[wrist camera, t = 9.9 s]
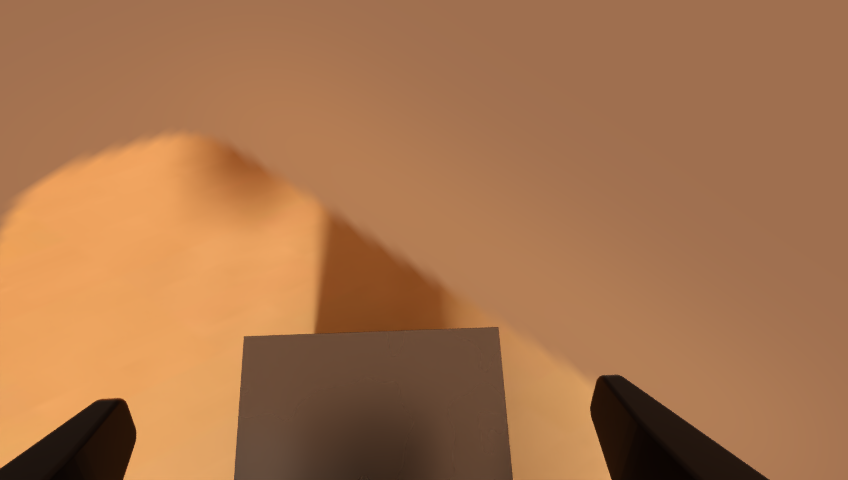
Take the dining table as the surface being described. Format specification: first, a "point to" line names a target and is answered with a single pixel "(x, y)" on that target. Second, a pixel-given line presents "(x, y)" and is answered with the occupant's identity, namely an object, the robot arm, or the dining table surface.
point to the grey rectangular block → (373, 406)
